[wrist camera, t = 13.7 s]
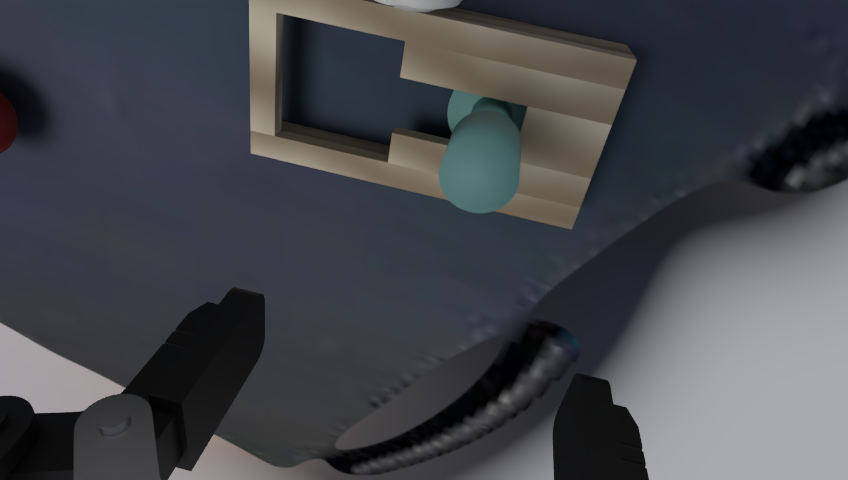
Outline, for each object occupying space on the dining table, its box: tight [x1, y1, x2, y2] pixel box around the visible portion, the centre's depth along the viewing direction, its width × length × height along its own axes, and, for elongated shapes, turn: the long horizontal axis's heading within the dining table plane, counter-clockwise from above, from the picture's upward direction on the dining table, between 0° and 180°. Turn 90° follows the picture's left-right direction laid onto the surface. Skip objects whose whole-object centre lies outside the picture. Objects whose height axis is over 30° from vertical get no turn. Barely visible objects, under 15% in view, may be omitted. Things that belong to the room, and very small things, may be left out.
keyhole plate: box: [249, 0, 637, 230], centre depth 31 cm, size 10×20×4 cm, turn 80°
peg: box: [439, 90, 526, 213], centre depth 28 cm, size 5×5×10 cm
